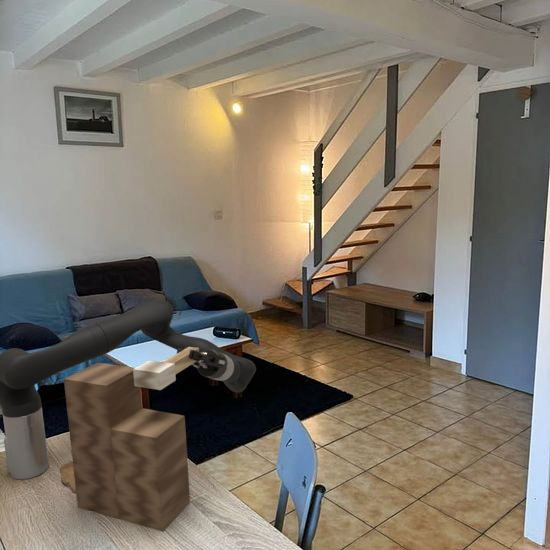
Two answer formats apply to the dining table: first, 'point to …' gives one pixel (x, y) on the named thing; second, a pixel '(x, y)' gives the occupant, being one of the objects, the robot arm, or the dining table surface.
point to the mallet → (162, 370)
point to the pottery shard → (68, 475)
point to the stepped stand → (125, 449)
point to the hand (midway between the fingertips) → (184, 353)
